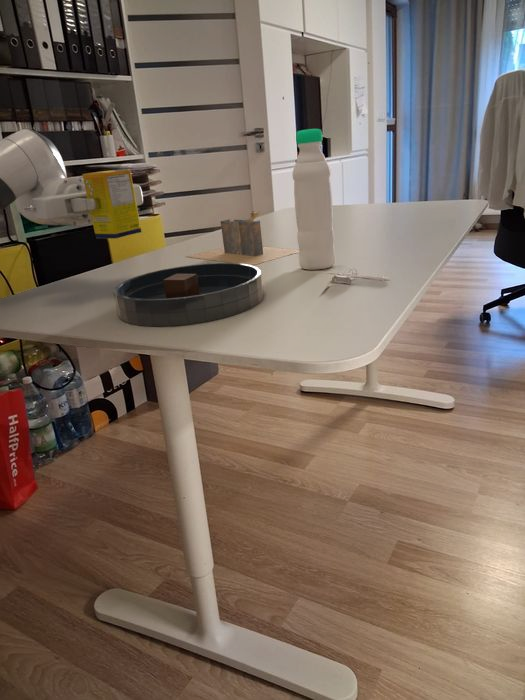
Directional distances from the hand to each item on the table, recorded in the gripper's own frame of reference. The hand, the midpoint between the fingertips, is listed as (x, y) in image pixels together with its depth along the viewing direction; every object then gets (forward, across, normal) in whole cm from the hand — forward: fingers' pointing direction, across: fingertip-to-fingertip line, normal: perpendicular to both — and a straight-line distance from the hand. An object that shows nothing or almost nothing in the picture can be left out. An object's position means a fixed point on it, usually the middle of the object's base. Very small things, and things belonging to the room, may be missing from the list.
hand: (115, 200), depth 90 cm
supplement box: (-1, 0, +6) cm, 6 cm away
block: (+15, 0, +16) cm, 22 cm away
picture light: (+33, +21, +17) cm, 43 cm away
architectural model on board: (-5, +36, +17) cm, 40 cm away
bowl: (+17, -1, +17) cm, 24 cm away
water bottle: (+21, +29, +17) cm, 40 cm away
